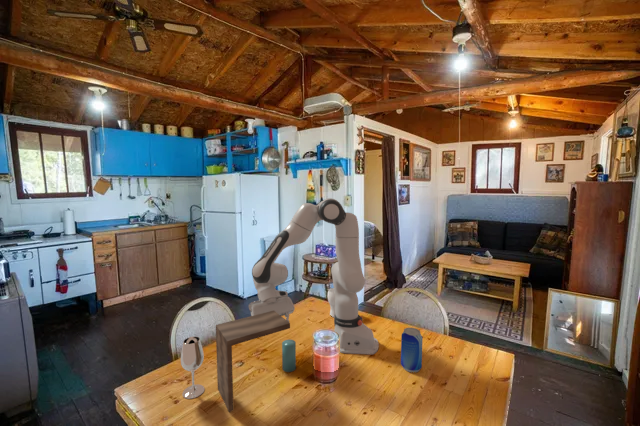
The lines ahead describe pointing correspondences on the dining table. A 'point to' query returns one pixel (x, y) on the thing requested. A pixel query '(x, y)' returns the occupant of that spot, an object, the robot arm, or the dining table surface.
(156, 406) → the dining table surface
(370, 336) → the robot arm
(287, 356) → the teal cylinder
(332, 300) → the cup
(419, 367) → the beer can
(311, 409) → the dining table surface
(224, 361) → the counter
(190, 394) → the wineglass
